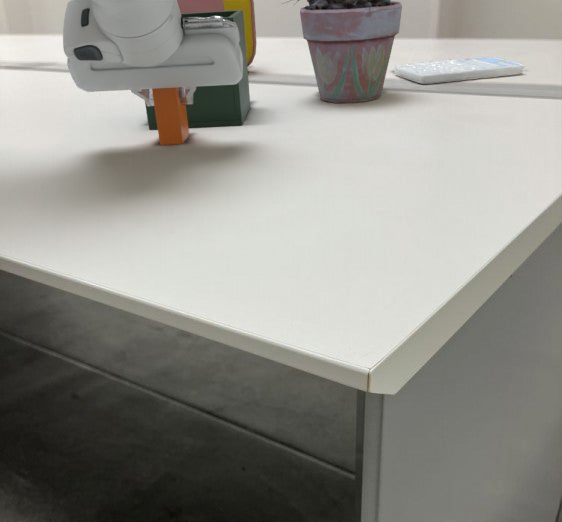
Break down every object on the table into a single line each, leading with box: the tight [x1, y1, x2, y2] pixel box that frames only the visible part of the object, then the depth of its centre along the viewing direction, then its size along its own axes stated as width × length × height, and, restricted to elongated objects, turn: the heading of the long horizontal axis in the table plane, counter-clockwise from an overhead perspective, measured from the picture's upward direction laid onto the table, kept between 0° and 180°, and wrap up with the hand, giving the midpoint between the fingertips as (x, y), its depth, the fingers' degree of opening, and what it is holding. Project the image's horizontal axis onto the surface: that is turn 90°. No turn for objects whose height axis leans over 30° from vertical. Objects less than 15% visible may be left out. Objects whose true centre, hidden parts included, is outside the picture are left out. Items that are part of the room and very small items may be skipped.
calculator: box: [394, 56, 525, 85], centre depth 124 cm, size 13×20×2 cm, turn 104°
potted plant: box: [281, 0, 403, 104], centre depth 105 cm, size 18×20×25 cm
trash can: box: [144, 10, 251, 131], centre depth 100 cm, size 14×14×14 cm
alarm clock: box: [177, 0, 257, 68], centre depth 139 cm, size 18×11×19 cm, turn 49°
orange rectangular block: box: [152, 87, 190, 146], centre depth 87 cm, size 3×5×10 cm, turn 177°
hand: (170, 100), depth 87 cm, fingers closed on orange rectangular block, 3 cm apart
